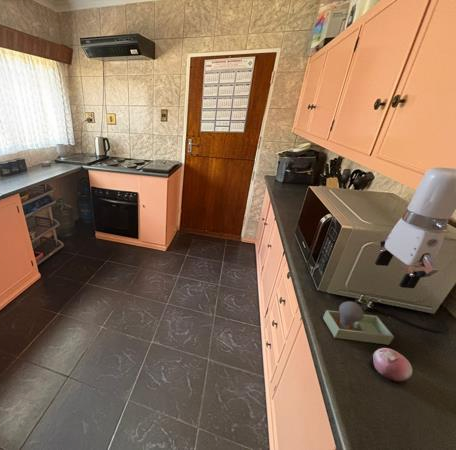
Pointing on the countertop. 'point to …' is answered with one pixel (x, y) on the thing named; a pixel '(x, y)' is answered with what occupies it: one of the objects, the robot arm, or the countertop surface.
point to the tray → (359, 329)
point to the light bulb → (349, 314)
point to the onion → (392, 364)
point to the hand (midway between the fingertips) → (392, 275)
